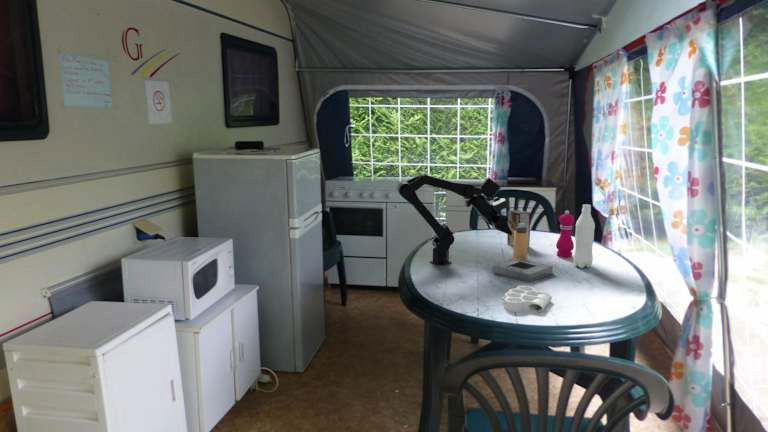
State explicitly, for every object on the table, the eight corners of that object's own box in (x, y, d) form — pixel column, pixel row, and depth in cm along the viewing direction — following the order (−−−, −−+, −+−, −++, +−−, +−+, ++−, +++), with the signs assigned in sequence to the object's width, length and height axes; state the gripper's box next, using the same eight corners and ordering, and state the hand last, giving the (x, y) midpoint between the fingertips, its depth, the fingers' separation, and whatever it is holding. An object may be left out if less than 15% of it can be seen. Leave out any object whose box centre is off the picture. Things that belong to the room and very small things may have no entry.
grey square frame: (528, 282, 192) (529, 274, 192) (492, 272, 204) (493, 265, 203) (552, 273, 203) (552, 265, 202) (516, 264, 214) (517, 257, 214)
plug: (521, 262, 218) (523, 225, 215) (510, 259, 222) (511, 223, 219) (529, 259, 221) (531, 223, 218) (518, 257, 226) (519, 221, 223)
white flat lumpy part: (539, 317, 160) (493, 309, 167) (553, 300, 175) (510, 292, 183) (540, 307, 160) (493, 299, 167) (554, 290, 175) (511, 283, 182)
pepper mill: (570, 254, 230) (573, 208, 227) (575, 258, 223) (578, 212, 220) (553, 253, 231) (556, 208, 227) (557, 258, 224) (560, 211, 220)
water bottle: (593, 269, 208) (598, 206, 203) (574, 268, 209) (578, 206, 204) (590, 264, 215) (594, 203, 210) (571, 263, 216) (575, 203, 211)
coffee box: (530, 247, 243) (531, 212, 240) (519, 248, 240) (520, 213, 237) (517, 242, 251) (518, 209, 248) (506, 244, 248) (507, 210, 245)
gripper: (504, 195, 206) (530, 222, 209) (489, 189, 224) (513, 213, 227) (484, 216, 206) (510, 242, 210) (470, 207, 224) (495, 232, 228)
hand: (507, 231), depth 219 cm, fingers open, 9 cm apart
